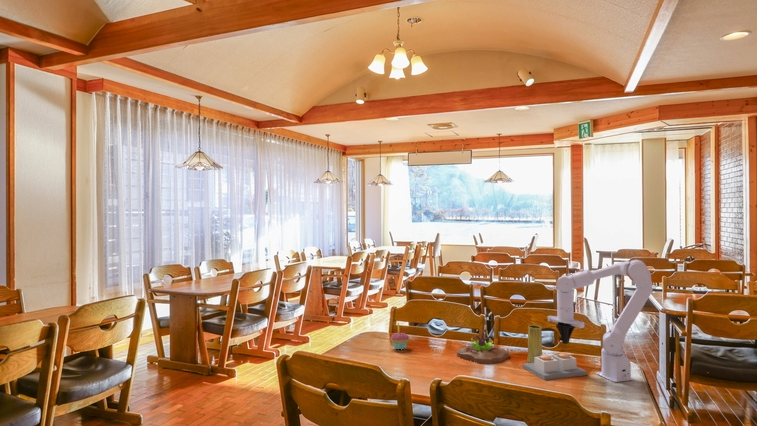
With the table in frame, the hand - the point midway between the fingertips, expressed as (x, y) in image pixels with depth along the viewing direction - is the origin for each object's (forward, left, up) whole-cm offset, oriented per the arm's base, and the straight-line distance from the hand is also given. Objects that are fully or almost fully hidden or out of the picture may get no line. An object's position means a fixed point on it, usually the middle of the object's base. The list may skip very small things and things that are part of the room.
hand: (565, 343), depth 176 cm
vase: (+12, +5, -11) cm, 17 cm away
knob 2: (-1, +1, -9) cm, 9 cm away
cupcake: (+45, +52, -11) cm, 70 cm away
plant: (+26, +21, -11) cm, 35 cm away
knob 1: (-1, +9, -9) cm, 13 cm away
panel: (0, +5, -10) cm, 12 cm away
